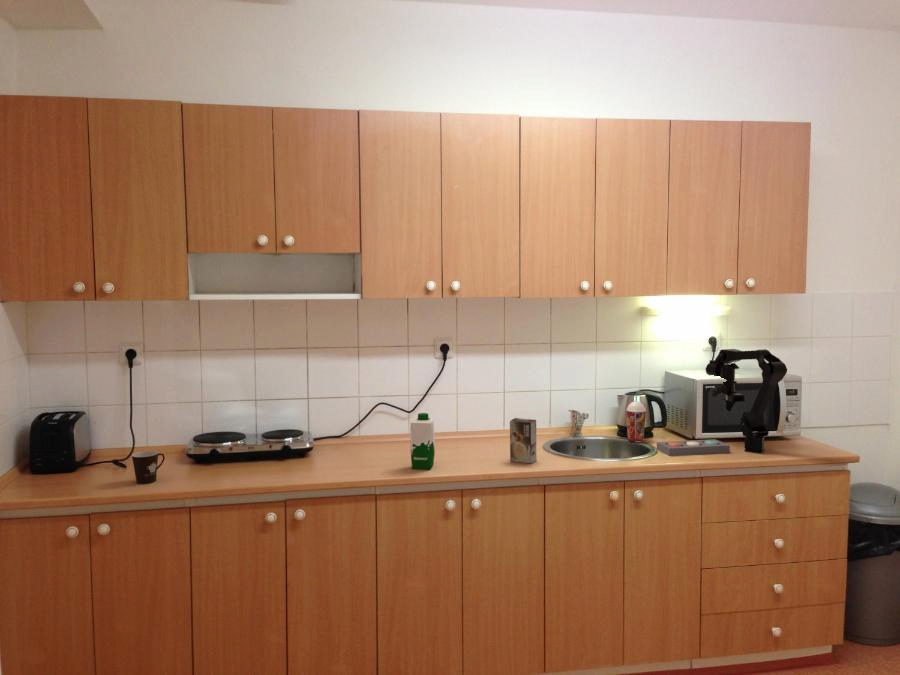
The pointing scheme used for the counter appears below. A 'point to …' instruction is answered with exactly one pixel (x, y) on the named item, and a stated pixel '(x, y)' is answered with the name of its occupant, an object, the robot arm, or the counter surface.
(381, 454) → the counter surface
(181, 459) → the counter surface
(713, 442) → the teal button
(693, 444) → the cream button
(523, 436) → the coffee box
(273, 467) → the counter surface
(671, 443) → the red button
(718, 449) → the button panel
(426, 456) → the milk carton
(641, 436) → the smoothie
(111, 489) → the counter surface
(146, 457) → the coffee mug
